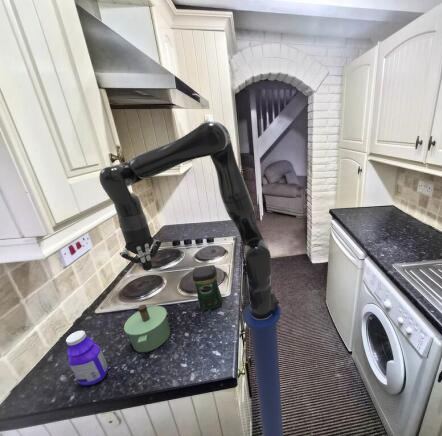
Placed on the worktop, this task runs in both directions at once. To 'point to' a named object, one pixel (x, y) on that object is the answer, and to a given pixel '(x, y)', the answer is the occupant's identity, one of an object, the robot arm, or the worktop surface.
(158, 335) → the pot
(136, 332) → the lid
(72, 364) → the bottle
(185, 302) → the worktop surface
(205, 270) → the coffee jar
